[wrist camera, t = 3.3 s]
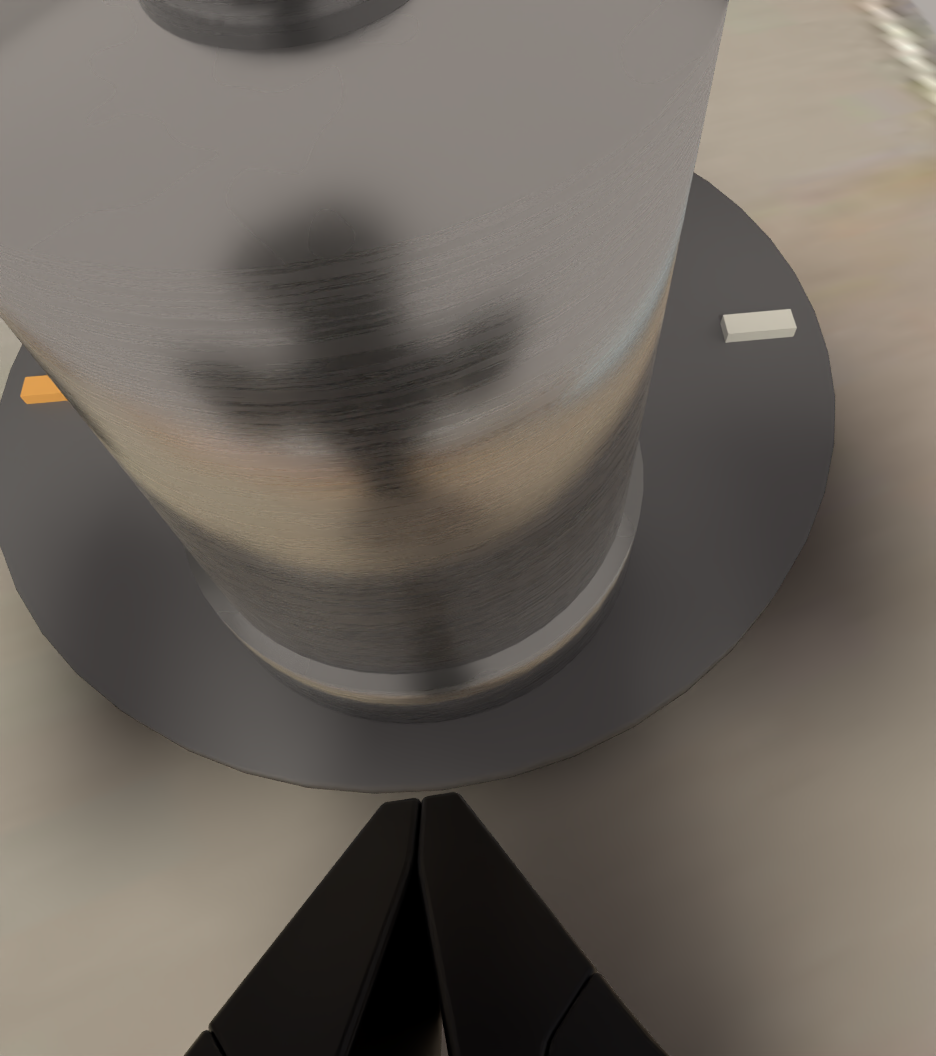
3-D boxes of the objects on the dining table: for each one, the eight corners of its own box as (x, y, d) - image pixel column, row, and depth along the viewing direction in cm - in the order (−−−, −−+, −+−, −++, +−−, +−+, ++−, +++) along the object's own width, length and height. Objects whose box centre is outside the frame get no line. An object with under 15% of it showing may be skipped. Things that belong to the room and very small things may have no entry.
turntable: (1020, 503, 18) (1049, 475, 17) (147, 1008, 14) (119, 1010, 13) (545, 53, 27) (546, 19, 26) (-58, 290, 23) (-83, 260, 22)
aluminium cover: (720, 586, 16) (1069, -121, 6) (311, 813, 15) (-242, 406, 4) (500, 304, 20) (469, -411, 10) (161, 457, 19) (-309, -204, 8)
